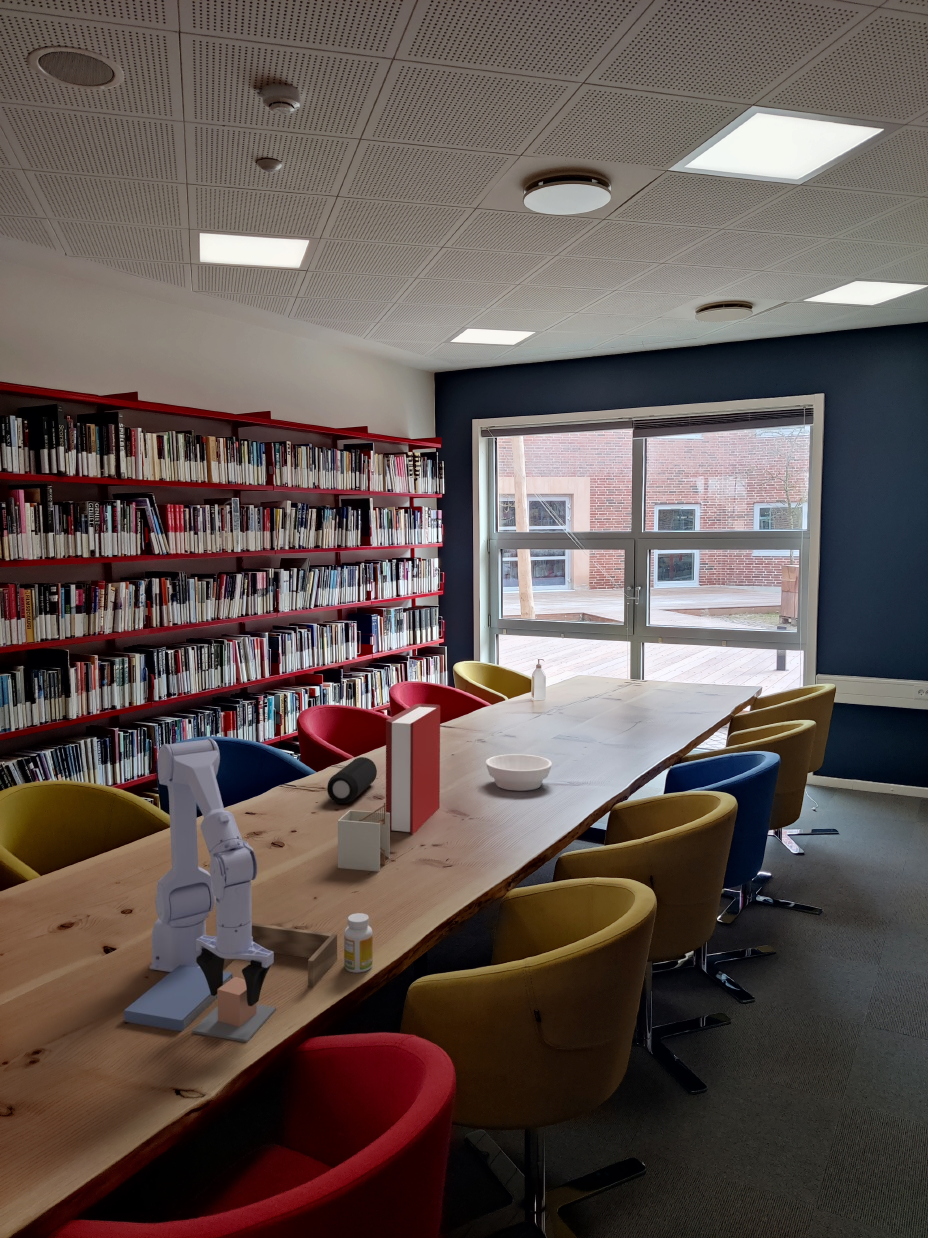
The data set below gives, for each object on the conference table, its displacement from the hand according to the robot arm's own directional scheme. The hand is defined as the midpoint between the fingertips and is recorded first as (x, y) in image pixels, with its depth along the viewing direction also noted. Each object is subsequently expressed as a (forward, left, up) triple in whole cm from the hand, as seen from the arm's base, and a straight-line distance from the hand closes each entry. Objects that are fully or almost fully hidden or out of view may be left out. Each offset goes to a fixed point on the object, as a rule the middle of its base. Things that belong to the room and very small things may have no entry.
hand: (234, 998), depth 141 cm
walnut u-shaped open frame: (-2, +19, -4) cm, 19 cm away
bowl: (+19, +153, -4) cm, 154 cm away
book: (-4, +110, -4) cm, 110 cm away
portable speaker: (-31, +128, -4) cm, 132 cm away
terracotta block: (0, 0, -4) cm, 4 cm away
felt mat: (0, 0, -4) cm, 4 cm away
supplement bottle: (+13, +23, -4) cm, 27 cm away
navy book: (-12, +3, -5) cm, 13 cm away
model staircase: (-5, +73, -5) cm, 73 cm away
